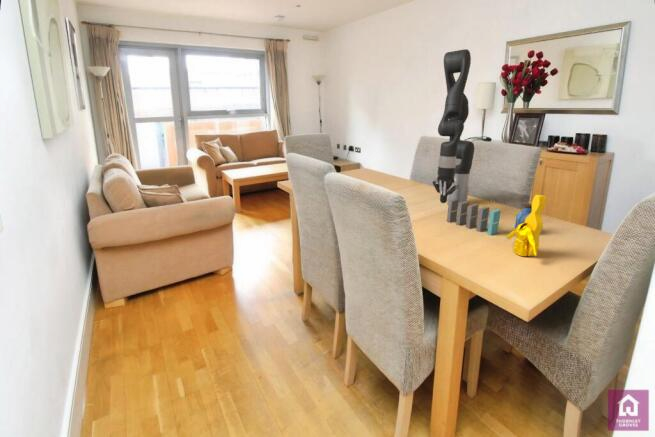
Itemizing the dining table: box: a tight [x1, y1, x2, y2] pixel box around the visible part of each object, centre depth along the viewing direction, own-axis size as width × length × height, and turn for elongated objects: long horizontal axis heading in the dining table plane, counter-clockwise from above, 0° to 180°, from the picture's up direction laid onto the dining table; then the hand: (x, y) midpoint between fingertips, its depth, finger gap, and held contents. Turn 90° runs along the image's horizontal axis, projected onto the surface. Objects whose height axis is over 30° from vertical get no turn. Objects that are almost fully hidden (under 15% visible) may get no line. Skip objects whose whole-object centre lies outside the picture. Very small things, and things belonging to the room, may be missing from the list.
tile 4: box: [476, 206, 490, 233], centre depth 153 cm, size 5×2×10 cm, turn 126°
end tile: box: [486, 208, 502, 236], centre depth 149 cm, size 5×2×10 cm, turn 126°
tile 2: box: [455, 201, 469, 226], centre depth 161 cm, size 5×2×10 cm, turn 126°
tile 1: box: [446, 199, 459, 223], centre depth 165 cm, size 5×2×10 cm, turn 126°
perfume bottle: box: [513, 203, 532, 230], centre depth 151 cm, size 6×6×12 cm
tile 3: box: [465, 203, 480, 230], centre depth 157 cm, size 5×2×10 cm, turn 126°
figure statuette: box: [505, 194, 547, 257], centre depth 128 cm, size 18×8×22 cm, turn 6°
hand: (443, 202), depth 168 cm, fingers closed
